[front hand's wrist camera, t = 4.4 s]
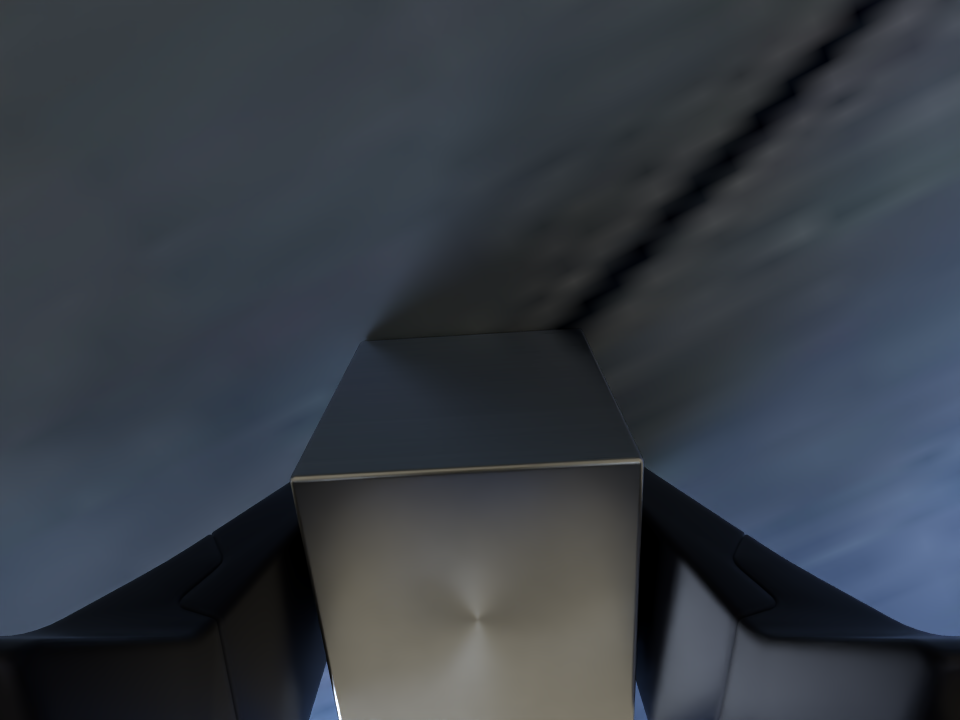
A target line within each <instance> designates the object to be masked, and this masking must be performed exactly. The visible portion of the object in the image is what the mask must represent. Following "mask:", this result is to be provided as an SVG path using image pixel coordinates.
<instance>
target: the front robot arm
mask: <svg viewBox="0 0 960 720" xmlns="http://www.w3.org/2000/svg"><path fill="white" fill-rule="evenodd" d="M326 662H327V660H326V655H325V650H324V645H323V640H322V635H321V630H320V625H319V620H318V616H317V611H316V606H315V601H314V596H313V591H312V586H311V581H310V576H309V571H308V567H307V562H306V557H305V552H304V547H303V542H302V537H301V532H300V527H299V522H298V517H297V513H296V508H295V503H294V498H293V493H292V488H291V483H290V482H289V483H288V484H286V485H285V486H283V487H282V488H280V489H279V490H277V491H276V492H274V493H272V494H271V495H269V496H268V497H266V498H265V499H263V500H262V501H260V502H259V503H257V504H256V505H254V506H252V507H251V508H249V509H248V510H246V511H245V512H243V513H242V514H240V515H239V516H237V517H236V518H234V519H232V520H231V521H229V522H228V523H226V524H225V525H223V526H222V527H220V528H219V529H217V530H216V531H214V532H213V533H212V535H208V536H206V537H205V538H203V539H202V540H200V541H199V542H197V543H195V544H194V545H192V546H191V547H189V548H188V549H186V550H184V551H183V552H181V553H179V554H178V555H176V556H175V557H173V558H171V559H170V560H168V561H167V562H165V563H163V564H161V565H160V566H158V567H156V568H154V569H152V570H151V571H149V572H147V573H145V574H144V575H142V576H140V577H138V578H137V579H135V580H133V581H131V582H129V583H127V584H126V585H124V586H122V587H120V588H118V589H116V590H115V591H113V592H111V593H109V594H107V595H105V596H104V597H102V598H100V599H98V600H96V601H95V602H93V603H91V604H89V605H87V606H85V607H84V608H82V609H80V610H78V611H76V612H74V613H73V614H71V615H69V616H67V617H65V618H63V619H61V620H59V621H57V622H55V623H53V624H51V625H49V626H46V627H44V628H41V629H38V630H35V631H32V632H28V633H24V634H19V635H13V636H0V720H309V717H310V714H311V711H312V708H313V704H314V701H315V698H316V694H317V691H318V688H319V685H320V681H321V678H322V675H323V672H324V668H325V665H326ZM636 682H637V686H638V689H639V692H640V696H641V699H642V702H643V705H644V709H645V712H646V715H647V719H648V720H960V636H942V635H935V634H930V633H927V632H923V631H920V630H917V629H914V628H911V627H909V626H906V625H904V624H902V623H900V622H898V621H896V620H894V619H892V618H890V617H888V616H886V615H884V614H883V613H881V612H879V611H877V610H875V609H874V608H872V607H870V606H868V605H866V604H864V603H863V602H861V601H859V600H857V599H855V598H854V597H852V596H850V595H848V594H846V593H845V592H843V591H841V590H839V589H837V588H835V587H834V586H832V585H830V584H828V583H826V582H825V581H823V580H821V579H819V578H817V577H816V576H814V575H812V574H810V573H809V572H807V571H805V570H803V569H802V568H800V567H798V566H796V565H795V564H793V563H791V562H789V561H788V560H786V559H785V558H783V557H781V556H780V555H778V554H777V553H775V552H773V551H772V550H770V549H769V548H767V547H765V546H764V545H762V544H761V543H759V542H758V541H756V540H755V539H753V538H752V537H750V536H749V535H744V532H742V531H741V530H739V529H738V528H736V527H735V526H733V525H732V524H730V523H729V522H727V521H725V520H724V519H722V518H721V517H719V516H718V515H716V514H715V513H713V512H712V511H710V510H709V509H707V508H706V507H704V506H703V505H701V504H700V503H698V502H697V501H695V500H693V499H692V498H690V497H689V496H687V495H686V494H684V493H683V492H681V491H680V490H678V489H677V488H675V487H674V486H672V485H671V484H669V483H668V482H666V481H665V480H663V479H662V478H660V477H658V476H657V475H655V474H654V473H652V472H651V471H649V470H648V469H646V468H645V467H644V474H643V501H642V527H641V553H640V579H639V605H638V631H637V657H636Z"/></svg>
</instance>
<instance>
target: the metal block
mask: <svg viewBox="0 0 960 720" xmlns="http://www.w3.org/2000/svg"><path fill="white" fill-rule="evenodd" d="M643 474H644V460H643V458H642V456H641V453H640V451H639V449H638V447H637V445H636V443H635V441H634V439H633V437H632V434H631V432H630V430H629V428H628V426H627V424H626V422H625V420H624V418H623V415H622V413H621V411H620V409H619V407H618V405H617V403H616V401H615V398H614V396H613V394H612V392H611V390H610V388H609V386H608V384H607V382H606V379H605V377H604V375H603V373H602V371H601V369H600V367H599V365H598V362H597V360H596V358H595V356H594V354H593V352H592V350H591V348H590V346H589V343H588V341H587V339H586V337H585V335H584V333H583V331H582V329H579V328H578V329H561V330H544V331H528V332H511V333H494V334H478V335H461V336H444V337H428V338H411V339H394V340H378V341H363V342H361V343H360V345H359V347H358V349H357V350H356V352H355V354H354V356H353V358H352V360H351V362H350V364H349V366H348V368H347V370H346V372H345V374H344V376H343V377H342V379H341V381H340V383H339V385H338V387H337V389H336V391H335V393H334V395H333V397H332V399H331V401H330V402H329V404H328V406H327V408H326V410H325V412H324V414H323V416H322V418H321V420H320V422H319V424H318V426H317V428H316V429H315V431H314V433H313V435H312V437H311V439H310V441H309V443H308V445H307V447H306V449H305V451H304V453H303V454H302V456H301V458H300V460H299V462H298V464H297V466H296V468H295V470H294V472H293V474H292V476H291V479H290V483H291V488H292V493H293V498H294V503H295V508H296V513H297V517H298V522H299V527H300V532H301V537H302V542H303V547H304V552H305V557H306V562H307V567H308V571H309V576H310V581H311V586H312V591H313V596H314V601H315V606H316V611H317V616H318V620H319V625H320V630H321V635H322V640H323V645H324V650H325V655H326V660H327V665H328V670H329V674H330V679H331V684H332V689H333V694H334V699H335V704H336V709H337V714H338V719H339V720H634V710H635V684H636V657H637V631H638V605H639V579H640V553H641V527H642V501H643Z"/></svg>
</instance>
